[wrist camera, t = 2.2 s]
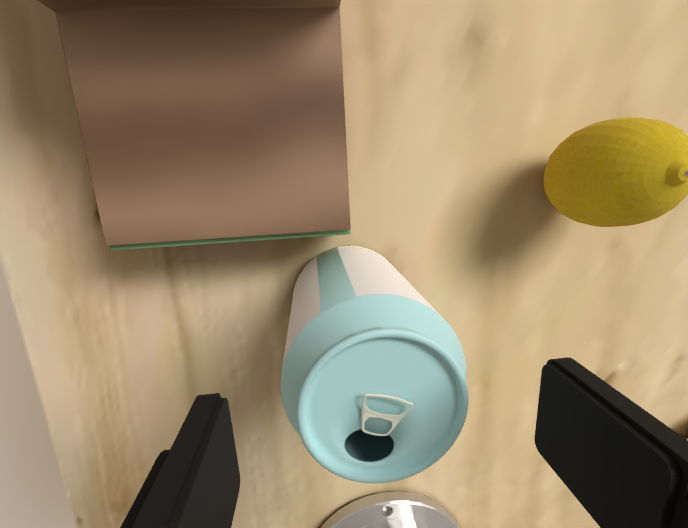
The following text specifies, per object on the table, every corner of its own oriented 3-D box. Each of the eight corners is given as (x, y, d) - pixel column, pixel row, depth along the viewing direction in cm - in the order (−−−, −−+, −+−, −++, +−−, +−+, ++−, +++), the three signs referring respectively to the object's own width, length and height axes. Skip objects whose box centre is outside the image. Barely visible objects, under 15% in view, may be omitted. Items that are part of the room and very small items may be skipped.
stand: (343, 225, 22) (361, 249, 14) (139, 238, 21) (40, 272, 13) (321, -187, 17) (330, -486, 10) (56, -194, 16) (-175, -534, 9)
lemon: (501, 199, 23) (602, 208, 15) (544, 114, 22) (674, 77, 14) (571, 231, 24) (699, 255, 16) (614, 151, 23) (773, 136, 15)
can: (413, 322, 24) (510, 455, 12) (317, 360, 24) (325, 529, 12) (379, 227, 22) (454, 277, 11) (275, 268, 22) (239, 364, 11)
